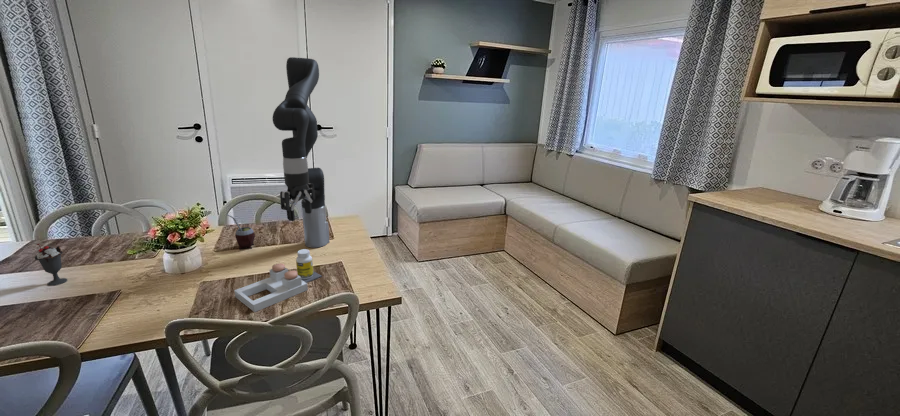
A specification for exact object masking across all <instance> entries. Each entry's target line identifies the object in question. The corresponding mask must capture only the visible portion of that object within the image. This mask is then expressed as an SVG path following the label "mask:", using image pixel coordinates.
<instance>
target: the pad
mask: <svg viewBox="0 0 900 416" xmlns="http://www.w3.org/2000/svg"><path fill="white" fill-rule="evenodd" d="M320 278H323V275H321V274H319V273H318V272H316V271H314V270H313V276H312V277H311V278H309V279H301V280H302V281H304V282H306V283H307V284H308V283H311V282H313V281H315V280H317V279H320Z"/></svg>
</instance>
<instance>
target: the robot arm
mask: <svg viewBox="0 0 900 416" xmlns="http://www.w3.org/2000/svg"><path fill="white" fill-rule="evenodd" d="M285 68H286V76H287V77H286V78H287V83H288V90H287V92H286V93H285V94H286V95H285V98H284V100H283V101H281V102H280V103H279V104H278V105H277V106H276V107H275V109H274V110H273V114H272V123H273V126H274V127H275V128H276V129H278V131H283V132H284V131H287V132H289V131H290V132H292V137H287V138H284V139H282V142H281V150H282V158H283V159H282V169H283V177H284V185H285V186H286V188H287V191H280V192H279V196H280V198H279V199H280V209H281V210H284V211H286V216H287V217H286V218H287V220H288V221H289V222H295V221H296V217H295V210H294V209H295V207H296V205H298V203H299V202H300V201H301V214H302V223H303V234H304V235H303V237H304V245H305V247H307V248H312V249H313V248H315V249H316V248H321V247H325V246H326V245H327V244H329V243H330V231H329V229H330V228H329V222H328V221H327V216H326V214H327V213H326V202H325V201H326V200H325V199H326V195H325V174H324V171H323V170H322V168H321V167H310V168H309V164H308V159H307V158H308V156H309V154H310V152H311V150H312V149H313V147H314V145H315V144H316V141H317V139H318V136H319V135H318V134H319V133H318V120H317V117H316V115H315V114H314V112H313V111H312V109H311V108H310V106H309V105H308V102H309V98H310V96H311V95H312V93H313V91H314V90H315V87H316V86H317V84H318V82H319V79H320V68H319V64H318V62H317V60H315V59H314V58H306V57H294V56H293V57H288V58H287V59H286V67H285Z"/></svg>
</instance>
